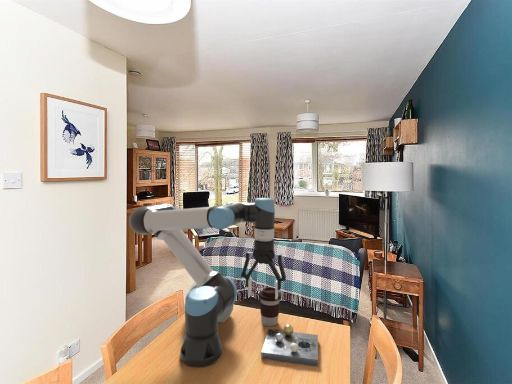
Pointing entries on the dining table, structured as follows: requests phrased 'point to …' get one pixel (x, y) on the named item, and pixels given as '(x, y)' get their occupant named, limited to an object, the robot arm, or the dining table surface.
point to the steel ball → (279, 337)
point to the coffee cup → (269, 306)
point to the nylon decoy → (294, 347)
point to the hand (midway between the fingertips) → (263, 296)
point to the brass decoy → (288, 330)
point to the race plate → (282, 349)
